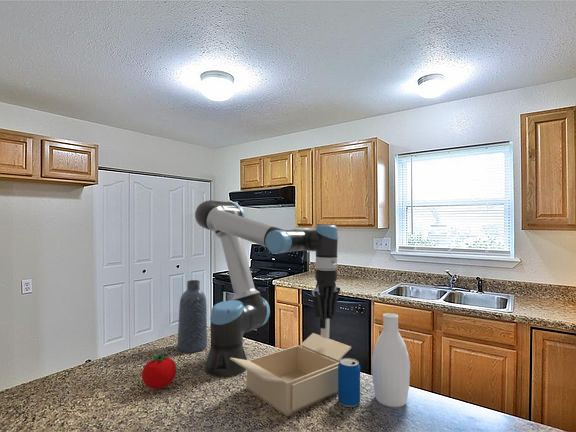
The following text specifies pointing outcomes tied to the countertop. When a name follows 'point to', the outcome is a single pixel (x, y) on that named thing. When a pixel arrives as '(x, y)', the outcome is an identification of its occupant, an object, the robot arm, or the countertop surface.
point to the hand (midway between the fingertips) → (325, 336)
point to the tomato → (159, 372)
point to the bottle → (391, 365)
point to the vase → (192, 319)
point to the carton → (294, 379)
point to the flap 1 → (257, 370)
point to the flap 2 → (326, 346)
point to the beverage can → (349, 382)
